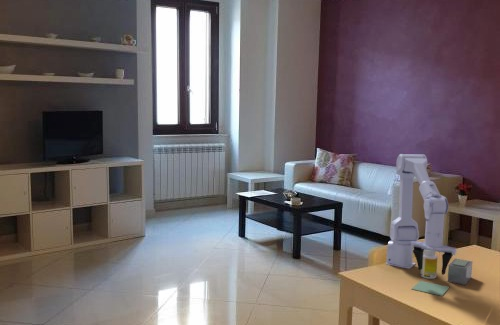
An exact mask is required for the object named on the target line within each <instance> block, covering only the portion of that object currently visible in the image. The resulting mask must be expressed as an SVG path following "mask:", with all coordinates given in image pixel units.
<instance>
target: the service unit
mask: <svg viewBox="0 0 500 325" xmlns="http://www.w3.org/2000/svg"><path fill="white" fill-rule="evenodd" d="M472 272H473V261H471V260H466V259H460V258H454V259H453V260H452V261H451V262H449V263H448V273H447V282H449V283H452V282H453V283H452V284H458V285H463V286H466V285H467V284H468V283H469V282H470V280H471V279H472Z"/></svg>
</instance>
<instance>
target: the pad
mask: <svg viewBox="0 0 500 325" xmlns="http://www.w3.org/2000/svg"><path fill="white" fill-rule="evenodd" d="M449 289H450V286H447V285H443V284H436V283H432V282H427V281H423V280H420V281H418V282H417V283H416V284H415V285H414V286H413V287H412V288H411V290H414V291H418V292H422V293H426V294H431V295H436V296H441V297H443V296H444V295H445V294H446V293H447V291H448V290H449Z"/></svg>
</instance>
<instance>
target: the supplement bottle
mask: <svg viewBox="0 0 500 325" xmlns="http://www.w3.org/2000/svg"><path fill="white" fill-rule="evenodd" d="M437 270H438V255H437V254H436V251H431V250H425V249H424V252H423V265H422V269H421V270H419V271H420V272H419V275H420V277H421V278H424V279H427V280H432V279H436V278H437Z"/></svg>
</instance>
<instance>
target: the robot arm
mask: <svg viewBox="0 0 500 325" xmlns="http://www.w3.org/2000/svg"><path fill="white" fill-rule="evenodd" d="M395 164H396V165H395V166H396V168H395V170H396V174H397V175H398V176H399V196H398V197H399V199H398V201H399V204H398V217H396V218H395V219H394V220H392V221H391V223H390V230H389V238H390V240H389V241H388V243H387V246H386V262H385V265H389V266H393V267H399V268H403V269H409V270H410V269H412V267H414V266H415V265H416V263H417V266H418V267H417V268H418V270H419V271H420V270H421V269H422V265H423V253H424V249H425V250H431V251H435V252H439V253H442V255H441V256H442V259H441V260H442V267H441V275H445V274H446V271H447V267H448V266H449V264H450V261H451V260H452V257H453V256H455V255H457V247H451V246H450V245H449V246H448V245H445V244H443V242H444V240H443V239H444V228H445V227H444V226H445V215H446V214H448V211H449V201H448V198H447V197H446V196H444V195H442V194H440V193H441V192H440V191H439V189H438V187H437V185H436V183H435V182H434V181H432V180H431V179H430V176H429V174H428V171H427V167H428V157H427V156H426V154H424V153H423V154H422V153H421V154H412V153H411V154H409V153H408V154H406V153H405V154H403V153H400V154H399V155H398V156H397V158H396V163H395ZM414 178H416V180H417V182H418V183H419V186H418V191H419V193H420V195H421V197H422V199H423V210H424V219H425V229H424V231H425V233H424V241H418V240H419V238H420V231H419V224H418V222H417V221H416V220H414V219H413V201H414V200H413V198H414V196H413V195H414V193H413V192H414ZM413 254H414V255H413ZM414 256H415V259H416V262H413V258H414Z"/></svg>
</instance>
